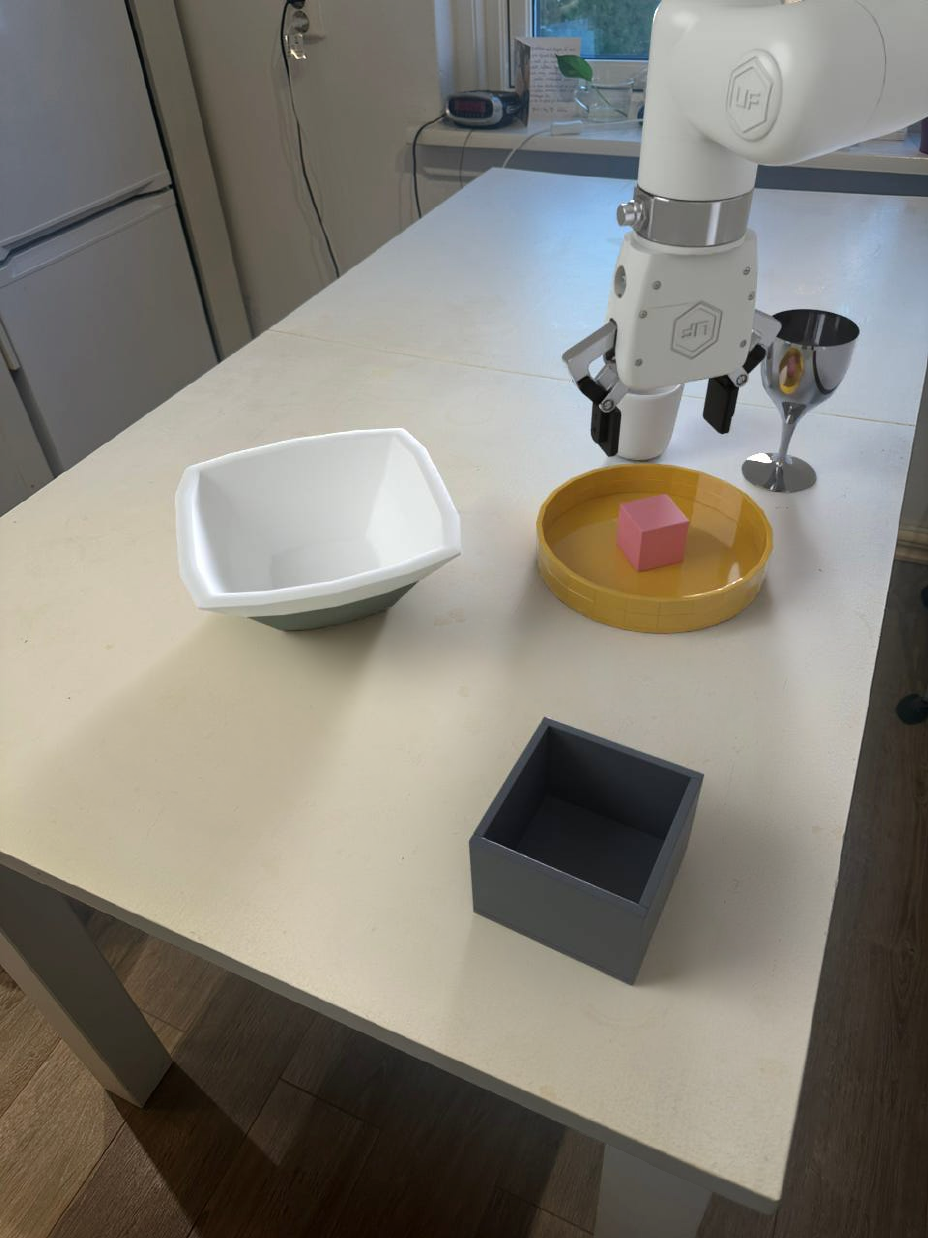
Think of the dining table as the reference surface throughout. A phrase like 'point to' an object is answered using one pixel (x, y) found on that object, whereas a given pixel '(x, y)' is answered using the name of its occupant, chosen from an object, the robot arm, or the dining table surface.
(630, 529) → the block
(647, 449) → the cup
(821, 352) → the wine glass
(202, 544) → the bowl
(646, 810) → the grey bin
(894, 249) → the dining table surface
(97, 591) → the dining table surface
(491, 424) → the dining table surface
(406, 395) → the dining table surface
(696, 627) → the yellow bowl
